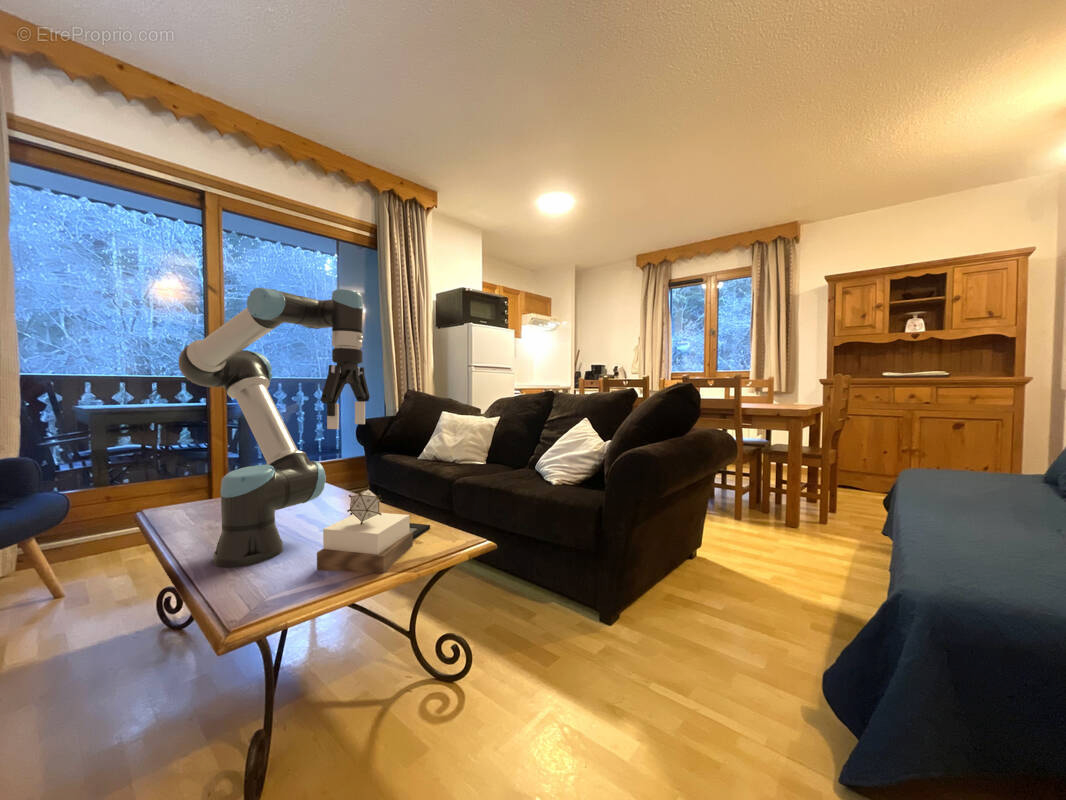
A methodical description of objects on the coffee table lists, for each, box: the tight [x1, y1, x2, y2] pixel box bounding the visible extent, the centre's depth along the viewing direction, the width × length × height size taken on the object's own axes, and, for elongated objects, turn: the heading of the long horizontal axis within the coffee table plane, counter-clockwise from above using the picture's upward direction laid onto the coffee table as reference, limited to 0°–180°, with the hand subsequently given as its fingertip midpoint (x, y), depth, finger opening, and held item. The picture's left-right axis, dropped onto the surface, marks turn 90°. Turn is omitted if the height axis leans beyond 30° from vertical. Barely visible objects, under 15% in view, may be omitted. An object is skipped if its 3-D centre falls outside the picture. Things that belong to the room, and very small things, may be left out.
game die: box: [346, 485, 383, 525], centre depth 106 cm, size 9×8×10 cm
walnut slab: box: [316, 531, 414, 574], centre depth 107 cm, size 17×17×5 cm
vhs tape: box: [409, 522, 431, 541], centre depth 123 cm, size 8×14×2 cm, turn 166°
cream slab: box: [322, 512, 410, 555], centre depth 108 cm, size 15×15×5 cm
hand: (347, 426), depth 113 cm, fingers open, 13 cm apart
